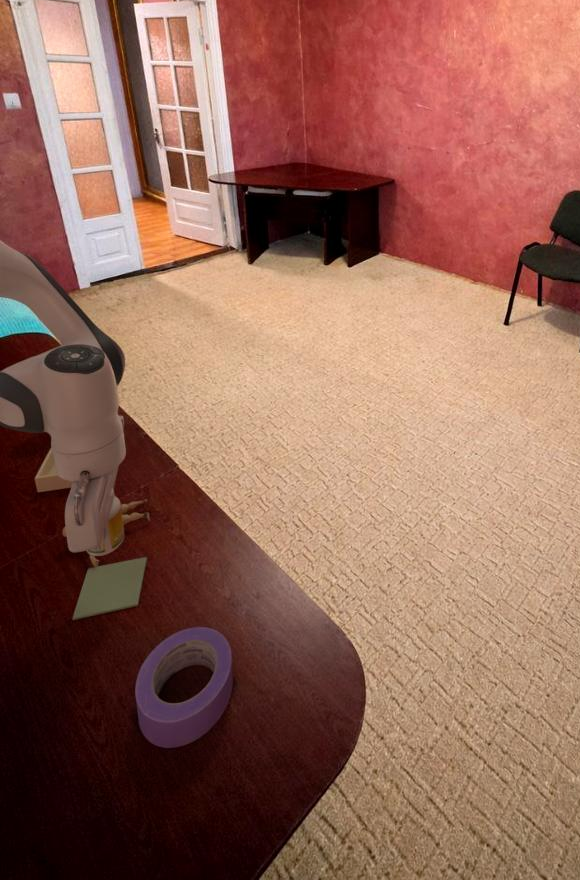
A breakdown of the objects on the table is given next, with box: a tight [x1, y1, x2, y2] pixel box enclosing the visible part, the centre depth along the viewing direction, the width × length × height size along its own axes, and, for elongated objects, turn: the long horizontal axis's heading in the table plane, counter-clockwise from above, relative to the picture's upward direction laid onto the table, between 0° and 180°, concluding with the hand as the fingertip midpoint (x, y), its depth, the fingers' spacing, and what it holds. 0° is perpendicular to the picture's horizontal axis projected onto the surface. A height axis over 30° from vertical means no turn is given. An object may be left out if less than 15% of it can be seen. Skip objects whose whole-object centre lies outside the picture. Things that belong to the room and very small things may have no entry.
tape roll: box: [134, 626, 234, 749], centre depth 65 cm, size 12×12×5 cm
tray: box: [34, 446, 73, 493], centre depth 105 cm, size 13×13×4 cm
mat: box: [72, 556, 148, 621], centre depth 79 cm, size 9×9×1 cm
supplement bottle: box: [85, 488, 126, 557], centre depth 75 cm, size 5×5×10 cm
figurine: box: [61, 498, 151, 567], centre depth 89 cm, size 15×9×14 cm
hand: (102, 524), depth 75 cm, fingers closed on supplement bottle, 5 cm apart
